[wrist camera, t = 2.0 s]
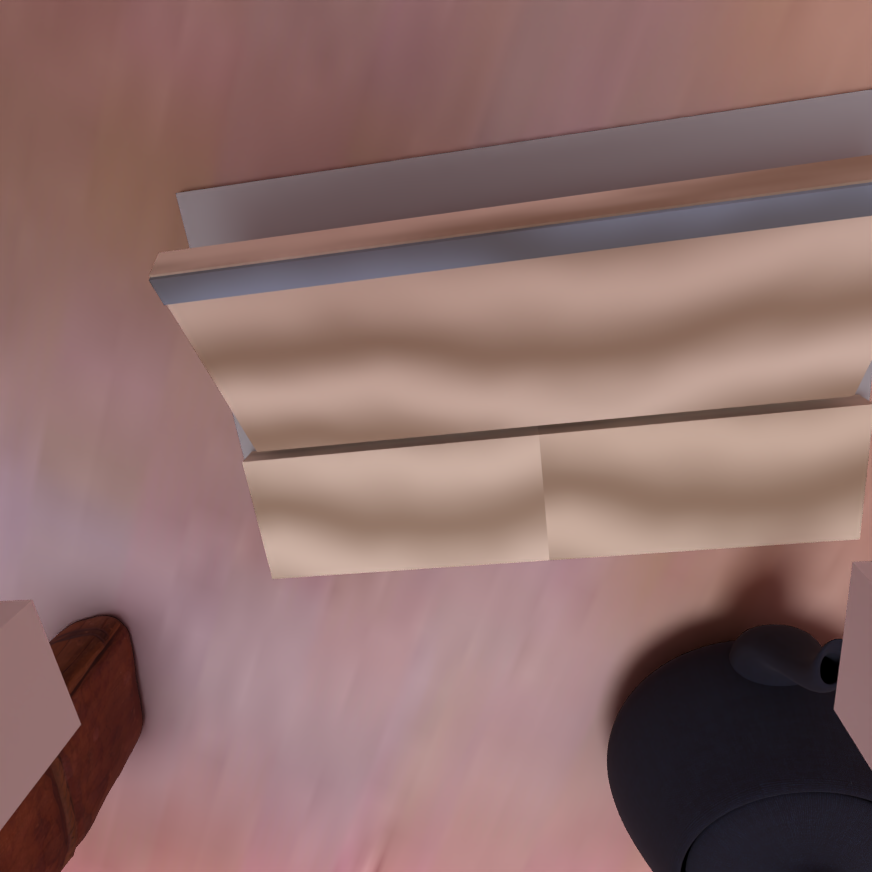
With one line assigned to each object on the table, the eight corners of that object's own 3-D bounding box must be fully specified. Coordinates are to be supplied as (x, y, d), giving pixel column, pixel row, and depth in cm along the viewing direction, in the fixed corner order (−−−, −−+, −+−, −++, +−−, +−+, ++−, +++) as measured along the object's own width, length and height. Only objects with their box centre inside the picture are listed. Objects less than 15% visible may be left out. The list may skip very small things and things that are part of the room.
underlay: (179, 192, 31) (175, 193, 30) (897, 85, 27) (902, 84, 26) (273, 561, 38) (271, 565, 38) (852, 520, 34) (856, 524, 34)
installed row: (251, 451, 35) (242, 462, 34) (858, 394, 31) (874, 404, 30) (280, 564, 37) (272, 579, 36) (845, 525, 34) (859, 539, 32)
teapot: (845, 857, 43) (971, 1105, 31) (598, 852, 44) (633, 1085, 33) (910, 512, 34) (1121, 685, 22) (598, 524, 35) (646, 689, 24)
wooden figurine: (38, 600, 40) (-284, 900, 24) (139, 611, 40) (-115, 923, 23) (66, 745, 45) (-189, 1083, 28) (157, 756, 45) (-47, 1105, 28)
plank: (159, 252, 26) (147, 278, 25) (946, 144, 22) (969, 169, 21) (261, 430, 34) (256, 454, 33) (842, 373, 30) (855, 398, 29)
